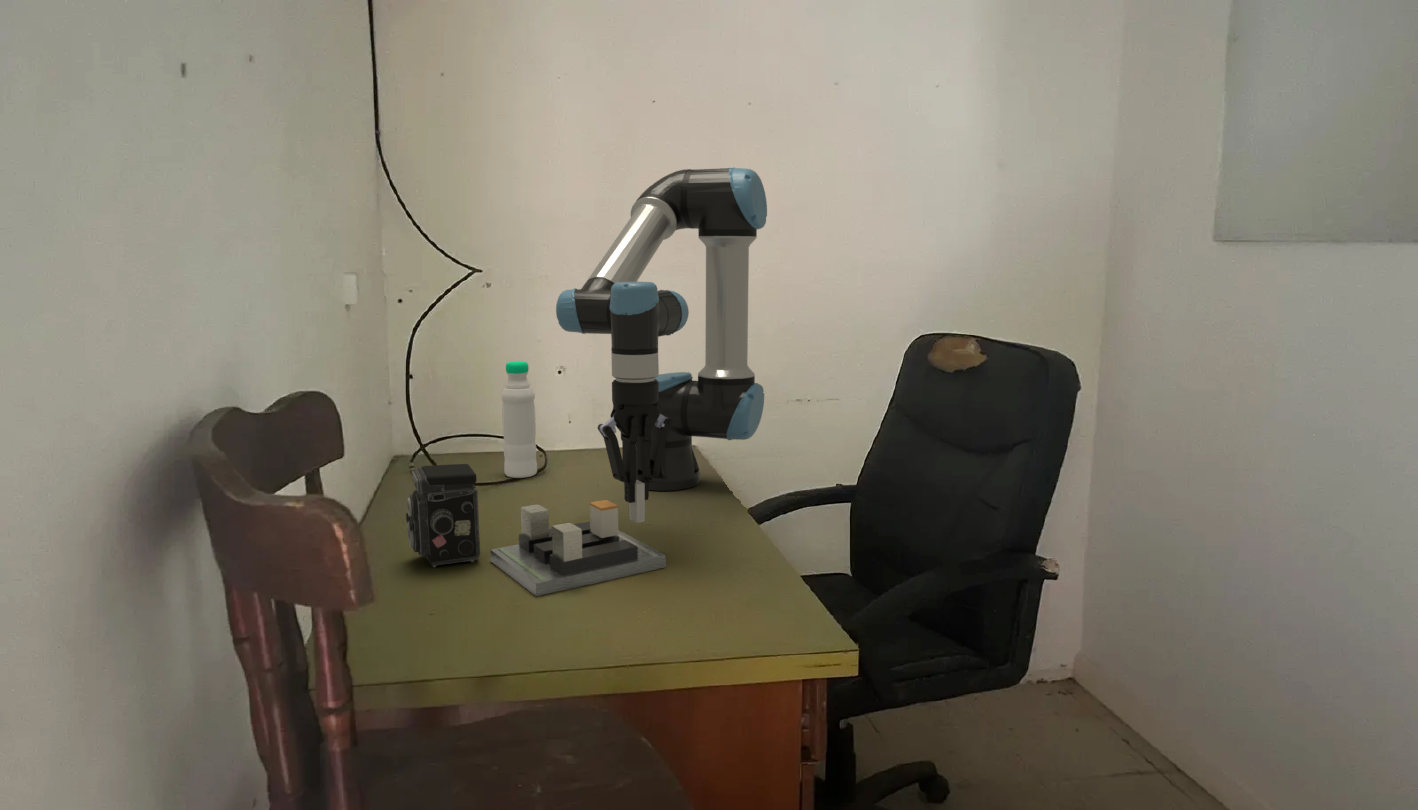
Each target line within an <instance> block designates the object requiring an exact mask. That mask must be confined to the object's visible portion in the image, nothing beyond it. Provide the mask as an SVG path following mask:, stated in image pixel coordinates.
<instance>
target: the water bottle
mask: <svg viewBox="0 0 1418 810" xmlns="http://www.w3.org/2000/svg"><path fill="white" fill-rule="evenodd" d="M529 368H530V367H529V363H528V362H527V361H524V360H514V361H513V360H511V361H508V362H506V364H505V372H506V375H507V376H508V377H507V378H508V379H507V381H506V383H505V385H504V388H503V390H502V393H501V401H502V409H501V410H502V434H503V435H502V436H503V443H504V444H503V455H504V457H503V458H504V464H503V467H504V468H503V470H504V475H505V476H507V477H508V478H513V479H523V478H524V479H525V478H530V477H533V476H535V475H536V474H537V472H538V463H537V462H538V461H537V445H536V444H537V443H536V433H537V432H536V431H537V428H536V426H537V425H536V409H535V396H536V394H535V392H534V390H533V388H532V386H531V383H530V381H529V380H528V378H527V375H528V373H529V370H530V369H529Z"/></svg>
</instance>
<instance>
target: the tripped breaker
mask: <svg viewBox="0 0 1418 810" xmlns="http://www.w3.org/2000/svg"><path fill="white" fill-rule="evenodd" d="M589 521H590V532H592V533H594V534H595V535H597V536H599V537H601V538H605V537H610V536H615V535H618V530H619V505H618V504H616V503H615V502H612V501H610V500H607V499H602V500H596V501H590V502H589Z"/></svg>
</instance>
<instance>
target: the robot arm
mask: <svg viewBox="0 0 1418 810" xmlns="http://www.w3.org/2000/svg"><path fill="white" fill-rule="evenodd" d="M630 209H631V210H630V218H629V219H628V221H627V223H626V224H625V225H624V227H623V228H622V230H621V231H620V233H619V234H618V236H617V237H616V238H615V239H614V241H613V243H612V244H611V246H610V247H609V249H607V252H606V253H605V254H604V256H603V257H602V259H601V260H600V261H599V263H598V264H597V265H596V267H595V268H594V270H593V271H592V273H591V274H590V276H589V277H588V279H587V280H586V282H585V283H584V284H583V285H582V287H581V288H579V289H577V288H573V289H565V290H563V291H562V292H561V293H560V294H559V296H558V298H557V301H556V306H555V313H556V315H555V316H556V319H557V322H558V325H559V326H560V327H561V329H562V330H563V331H566V332H569V333H579V334H582V335H583V334H584V335H585V334H592V335H593V334H594V335H595V334H599V335H601V334H602V335H610V336H611V337H610V339H611V348H610V349H611V376H612V377H613V378H614V380H613V381H612V382H611V401H612V410H611V413H610V417H609V419H608V420H607V421H606V422H604V423H599V424H598V425H597V430H598V432H599V434H601V436H602V438H603V441H604V446H605V449H606V450H605V451H606V454H607V457H608V461H609V464H610V469H611V473H612V477H613V479H615V480H617V481H619V482H622V483H623V486H624V487H623V489H624V491H623V492H624V500H625V502H626V503H628V520H631V521H632V522H634V523H636V524H639V523H645V522H646V501H649V498H650V491H661V492H662V491H665V492H666V491H669V492H670V491H679V490H686V489H691V488H693V487H696V486H697V485H699V484H700V483H701V470H700V467H699V463H698V461H697V458H696V455H695V451H694V448H693V442H692V441H693V440H692V439H693V437H695V438H696V437H697V438H708V439H709V438H710V439H711V438H712V439H723V440H727V441H732V440H737V441H740V440H742V441H745V440H749V439H750V438H751V437H753V436H754V434H755V433H756V432H757V431H758V430H757V429H758V428H759V425H760V423H761V420H762V415H763V411H764V406H765V392H764V391H765V390H764V387H763V386H762V384H759V383H758V382H755V381H756V379H755V377H756V375H755V372H754V371H753V370H752V369H751V368H750V367H749V366H748V350H749V349H748V347H749V346H748V345H749V344H748V338H749V337H748V335H749V334H748V333H749V266H750V265H749V264H750V263H749V262H750V261H749V260H750V258H749V257H750V253H749V252H750V246H751V245H752V244H753V242H754V241H756V239H757V238H758V237H757V236H758V235H757V233H758V232H757V231H758V230H761V229H763V228H764V227H765V225H766V224H767V223H766V222H767V216H768V204H767V197H766V191H765V187H764V185H763V182H762V179H761V177H760V176H759V174H758V173H757V172H756V171H754V170H753V169H751V168H740V167H726V168H724V167H723V168H704V169H703V168H700V169H691V168H686V169H680V170H676V171H674V172H671V173H668V174H667V175H665V176H664V177H663V176H662V177H661V178H660V179H659V180H657V181H655V182H654V183H653V184H651V185H650V186H649V187H647V188H646V189H645V190H644V191H643V192H642V193H641V194H640V195H639V197H638V198H637V199H636V201H635V202H634V203H633V205H632V206H631V208H630ZM683 229H691V230H694V229H698V236H697V237H698V239H699V241H701V242H702V243H703V245H704V246H705V351H704V352H705V354H704V355H705V357H704V359H705V360H704V361H705V365H704V366H703V367H702V369H701V370H700V371H699V372H698V373H697V380H693V376H692V373H691V372H689V371H686V372H685V371H680V372H668V373H661V374H660V373H659V372H660V369H659V337H664V336H667V337H668V336H671V335H673V334H674V333H677V332H679V331H680V330H682V329H683V327H684V326H686V324H687V321H688V319H689V315H690V314H689V312H690V311H689V306H688V303H687V301H686V300H685V298H684V297H683V295H681V294H680V293H678V292H676V291H674V290H669V289H666V290H664V289H659V290H658V287H657V285H656V283H654V282H653V281H652V282H651V281H639V279H640V277H641V276H642V274H643V272H645V270H646V268H647V267H648V265H649V263H650V261H651V260H652V259H653V257H654V256H655V254H656V252H657V251H658V249H659V247H660V245H661V244H662V243H663V241H664V240H668V239H669V238H670V237H672V236H673V235H674V233H675V232H676V231H679V230H683ZM617 429H618V431H619V432H620V440H621V443H622V448H620V444H619V440H618V437H617V435H616V433H617ZM621 449H622V450H621ZM621 452H622V453H621Z"/></svg>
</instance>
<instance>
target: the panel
mask: <svg viewBox="0 0 1418 810" xmlns="http://www.w3.org/2000/svg"><path fill="white" fill-rule="evenodd" d="M520 522H521V526H520V527H521V533H520V534H518V544H513V545H507V546H501V547H497V548H492V549H490V562H491V563H492V564H494V565H495V566H496V567H498V568H499V569H500V570H501V571H503V572H504V573H505V574H506V575H508V576H509V577H510V578H512V579H513V580H514V581H516V582H517V583H518V584H520V585H521V586H522V587H523V588H525V590H527V591H528V592H530V593H531V594H532V595H534V596H535V597H540V596H545V595H549V594H555V593H558V592H562V591H568V590H571V589H576V588H580V587H586V586H590V585H594V584H597V583H603V582H607V581H612V580H616V579H621V578H625V577H630V576H633V575H639V574H642V573H643V574H644V573H646V572H651V571H655V570H660V569H661V570H662V569H664V568H665V569H666V568H667V563H666V561H667V556H666V554H664V553H662V552H660V551H659V550H657V549H655V548H653V547H651V546H649V545H647V544H646V543H644V542H642V541H641V540H638V539H636V538H634V537H632V536H631V535H629V534H627V533H625V532H623V531H621V530H620V529H618V535H615V536H610V537H605V538H601V537H599V536H597V535H595V534H594V533H592V532H590V520H589V521H584V522H579V523H571V522H566V523H560V524H555V525H551V528H550V527H549V525H550V524H549V509H547V508H546V507H544V506H542V505H540V504H531V505H525V506H520Z"/></svg>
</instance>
